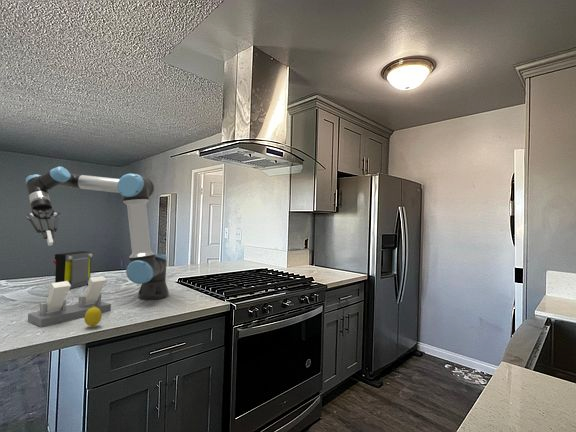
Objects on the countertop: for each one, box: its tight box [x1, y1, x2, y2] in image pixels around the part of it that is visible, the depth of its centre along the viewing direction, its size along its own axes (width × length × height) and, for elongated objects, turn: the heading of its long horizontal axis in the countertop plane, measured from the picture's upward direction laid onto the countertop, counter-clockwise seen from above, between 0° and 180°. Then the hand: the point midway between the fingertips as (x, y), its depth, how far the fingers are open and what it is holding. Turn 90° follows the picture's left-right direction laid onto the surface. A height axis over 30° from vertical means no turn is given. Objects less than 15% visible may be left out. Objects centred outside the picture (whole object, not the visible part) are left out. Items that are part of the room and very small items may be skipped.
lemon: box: [84, 306, 103, 328], centre depth 116 cm, size 6×6×8 cm
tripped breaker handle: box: [45, 281, 71, 312], centre depth 120 cm, size 3×6×13 cm
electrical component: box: [53, 250, 94, 290], centre depth 178 cm, size 18×10×20 cm, turn 168°
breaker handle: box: [83, 275, 107, 304], centre depth 132 cm, size 3×6×13 cm, turn 149°
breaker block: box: [27, 292, 112, 328], centre depth 128 cm, size 12×26×8 cm, turn 150°
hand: (50, 243), depth 136 cm, fingers closed
